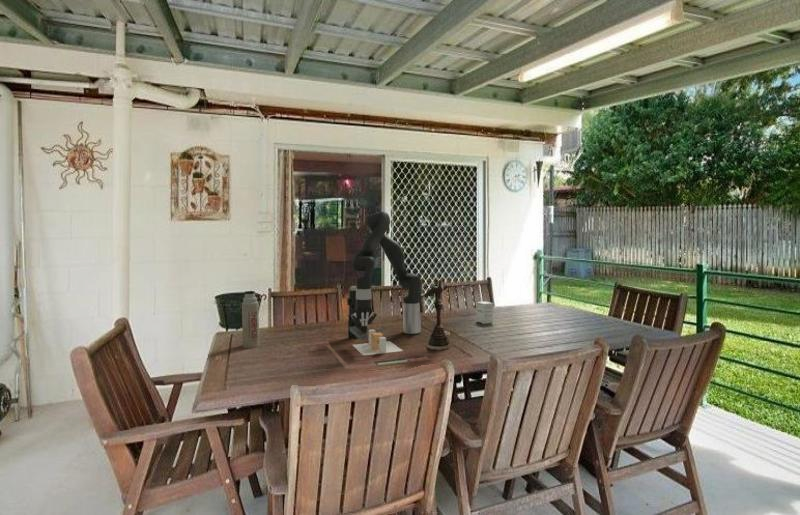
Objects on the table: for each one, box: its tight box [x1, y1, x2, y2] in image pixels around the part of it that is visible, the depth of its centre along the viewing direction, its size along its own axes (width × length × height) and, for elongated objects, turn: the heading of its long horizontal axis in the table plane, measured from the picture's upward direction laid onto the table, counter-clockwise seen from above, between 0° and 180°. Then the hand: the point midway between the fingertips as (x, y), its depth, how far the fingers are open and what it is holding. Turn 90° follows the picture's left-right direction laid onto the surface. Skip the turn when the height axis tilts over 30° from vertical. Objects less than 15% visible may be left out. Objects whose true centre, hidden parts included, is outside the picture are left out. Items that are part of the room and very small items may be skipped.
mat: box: [374, 358, 408, 367], centre depth 210 cm, size 14×10×1 cm
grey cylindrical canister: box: [476, 301, 494, 325], centre depth 288 cm, size 7×7×13 cm
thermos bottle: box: [241, 290, 260, 349], centre depth 234 cm, size 8×8×28 cm
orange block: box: [371, 331, 384, 349], centre depth 224 cm, size 4×8×7 cm, turn 21°
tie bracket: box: [352, 328, 404, 356], centre depth 226 cm, size 20×19×8 cm
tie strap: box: [350, 326, 368, 341], centre depth 222 cm, size 3×19×2 cm, turn 22°
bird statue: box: [420, 279, 451, 351], centre depth 234 cm, size 17×13×35 cm
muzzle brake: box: [346, 285, 367, 340], centre depth 250 cm, size 10×28×10 cm
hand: (363, 333), depth 223 cm, fingers closed
